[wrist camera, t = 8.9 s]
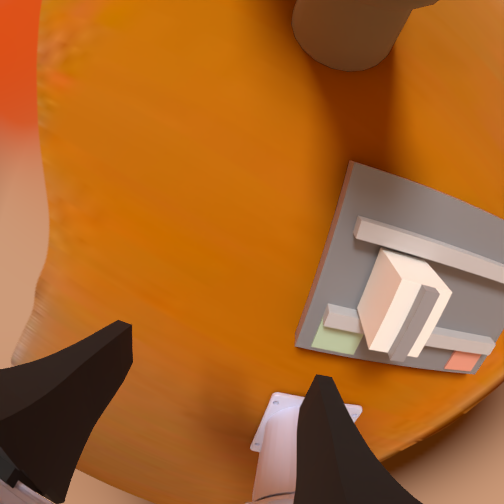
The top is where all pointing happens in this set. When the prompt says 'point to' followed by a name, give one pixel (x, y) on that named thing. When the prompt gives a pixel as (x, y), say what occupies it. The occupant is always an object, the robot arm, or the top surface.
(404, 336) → the block
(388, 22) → the pepper mill
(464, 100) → the top surface
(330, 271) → the switch panel
